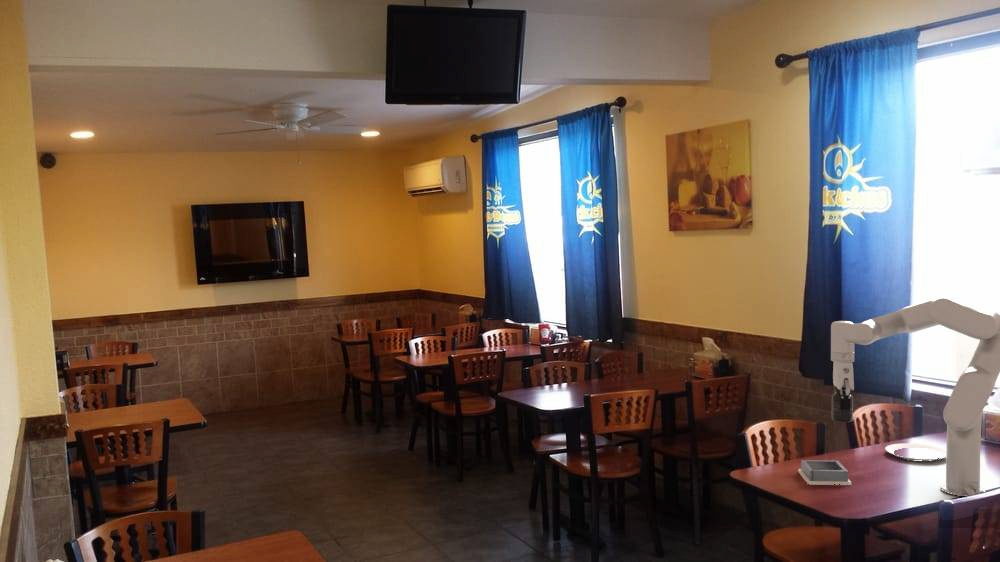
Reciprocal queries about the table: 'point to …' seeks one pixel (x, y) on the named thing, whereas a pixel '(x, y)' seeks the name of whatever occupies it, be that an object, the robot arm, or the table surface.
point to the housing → (824, 472)
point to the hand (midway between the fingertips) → (842, 406)
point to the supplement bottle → (837, 412)
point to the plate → (907, 445)
